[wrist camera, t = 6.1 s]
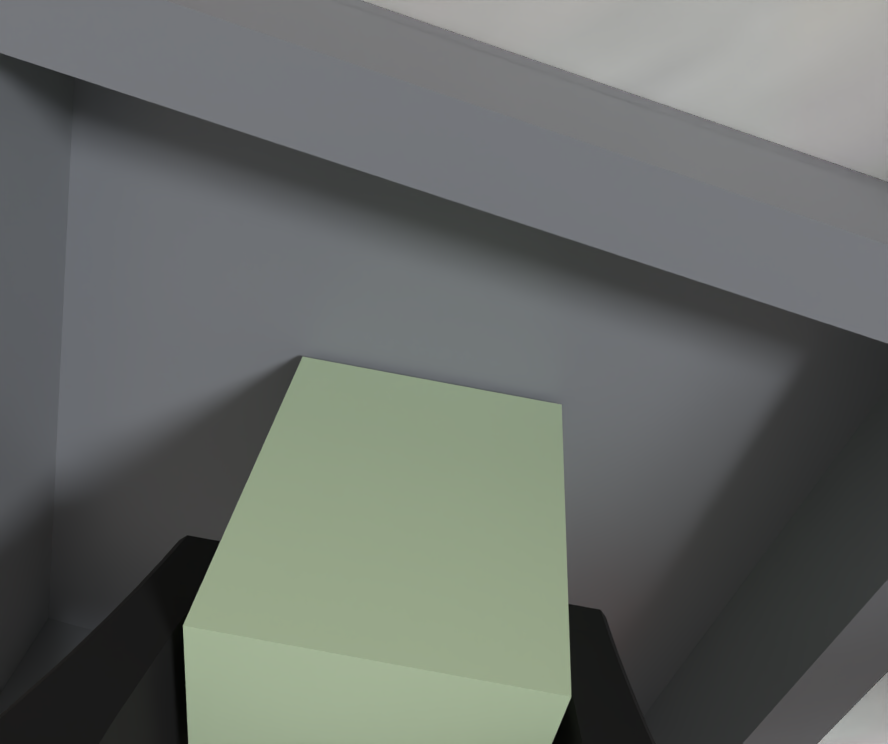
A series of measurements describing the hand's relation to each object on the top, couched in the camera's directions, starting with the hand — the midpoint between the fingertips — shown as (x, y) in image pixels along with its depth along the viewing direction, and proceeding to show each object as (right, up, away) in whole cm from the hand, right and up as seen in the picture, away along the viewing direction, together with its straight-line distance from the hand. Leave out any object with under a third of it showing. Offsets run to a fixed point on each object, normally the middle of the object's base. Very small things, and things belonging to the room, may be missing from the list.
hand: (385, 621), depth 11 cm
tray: (0, +2, +3) cm, 3 cm away
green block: (0, +2, +2) cm, 3 cm away
